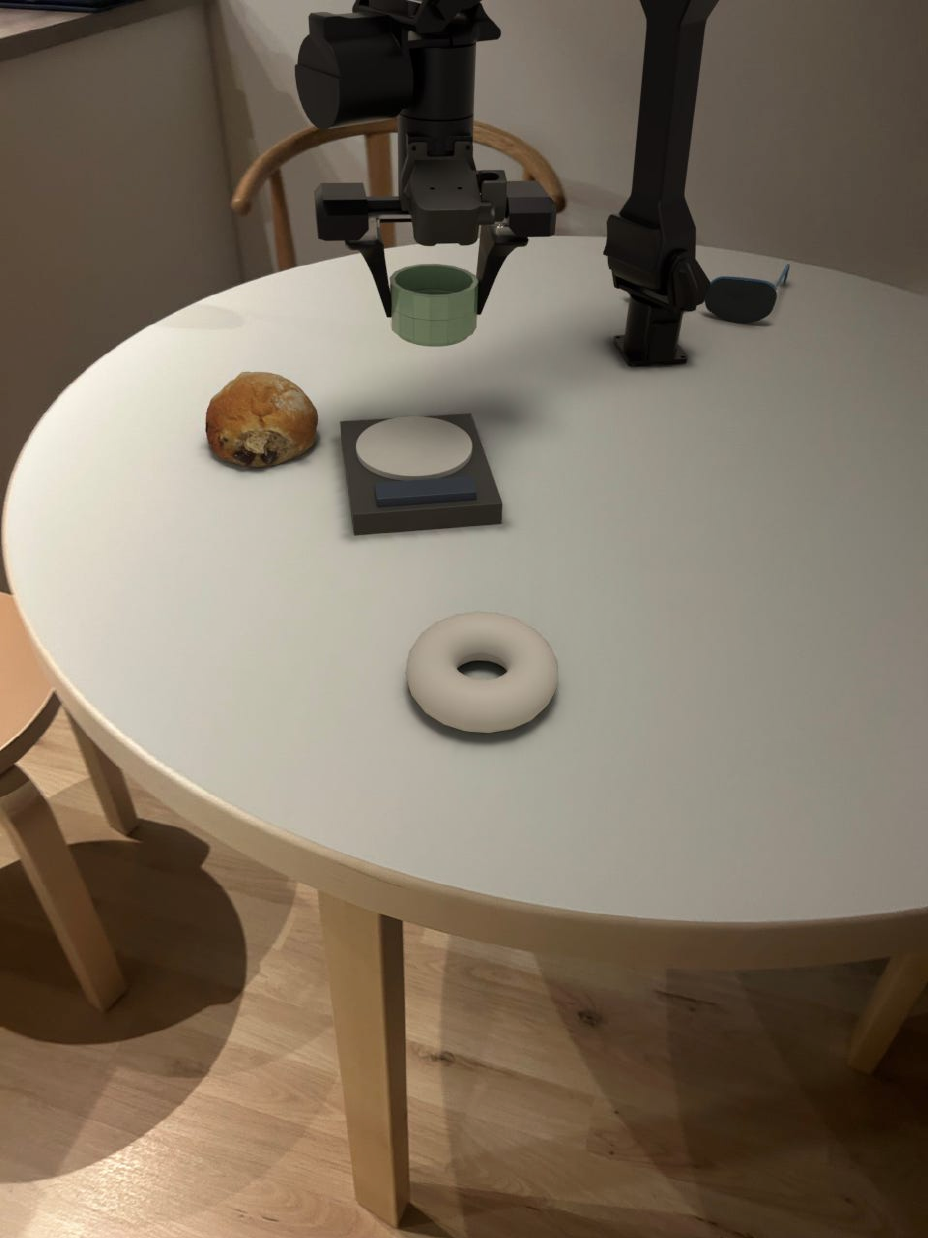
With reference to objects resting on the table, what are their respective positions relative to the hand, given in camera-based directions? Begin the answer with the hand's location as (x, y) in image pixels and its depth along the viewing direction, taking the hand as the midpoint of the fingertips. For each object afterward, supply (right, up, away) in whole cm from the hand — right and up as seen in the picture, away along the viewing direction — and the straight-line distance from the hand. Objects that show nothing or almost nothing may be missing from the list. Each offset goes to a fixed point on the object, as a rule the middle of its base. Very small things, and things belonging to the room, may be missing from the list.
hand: (433, 314), depth 82 cm
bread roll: (-16, -10, +6) cm, 19 cm away
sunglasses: (+32, +13, +35) cm, 49 cm away
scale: (-1, -14, +1) cm, 14 cm away
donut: (+4, -31, -18) cm, 36 cm away
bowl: (0, -1, +1) cm, 2 cm away
